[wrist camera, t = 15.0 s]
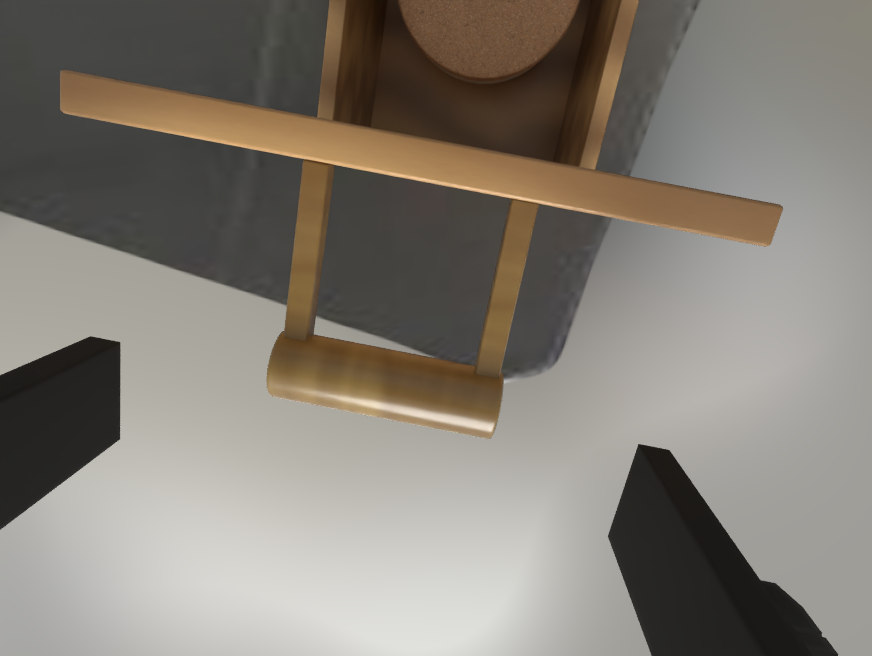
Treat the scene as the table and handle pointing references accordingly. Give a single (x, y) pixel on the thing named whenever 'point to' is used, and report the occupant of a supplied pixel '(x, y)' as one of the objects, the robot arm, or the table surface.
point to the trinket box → (487, 34)
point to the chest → (477, 103)
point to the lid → (423, 161)
